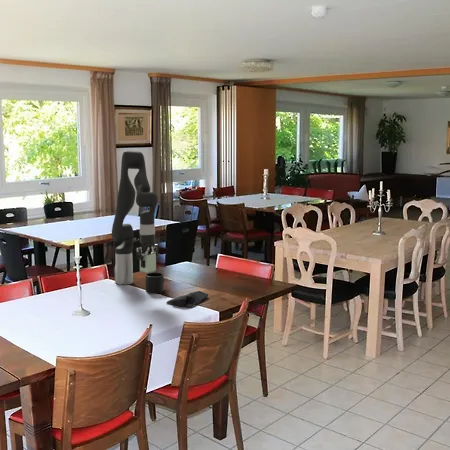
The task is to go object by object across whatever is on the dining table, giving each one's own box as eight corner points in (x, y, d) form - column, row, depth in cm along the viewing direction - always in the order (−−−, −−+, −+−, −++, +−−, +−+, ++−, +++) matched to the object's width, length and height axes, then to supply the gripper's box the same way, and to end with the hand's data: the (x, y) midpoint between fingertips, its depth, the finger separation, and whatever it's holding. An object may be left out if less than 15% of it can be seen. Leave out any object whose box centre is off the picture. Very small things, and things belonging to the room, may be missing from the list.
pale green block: (139, 271, 276) (139, 253, 275) (148, 269, 281) (147, 252, 279) (147, 273, 273) (147, 255, 271) (156, 271, 277) (155, 253, 276)
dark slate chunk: (213, 299, 284) (213, 290, 283) (188, 310, 266) (188, 300, 265) (189, 294, 292) (188, 285, 291) (163, 305, 274) (163, 295, 273)
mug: (170, 289, 299) (170, 273, 298) (154, 294, 290) (154, 277, 288) (158, 286, 305) (157, 270, 303) (142, 291, 295) (141, 274, 294)
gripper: (152, 230, 281) (153, 263, 284) (131, 234, 270) (131, 268, 273) (163, 231, 277) (163, 265, 280) (141, 235, 266) (142, 270, 268)
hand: (147, 266), depth 276 cm, fingers closed on pale green block, 5 cm apart
